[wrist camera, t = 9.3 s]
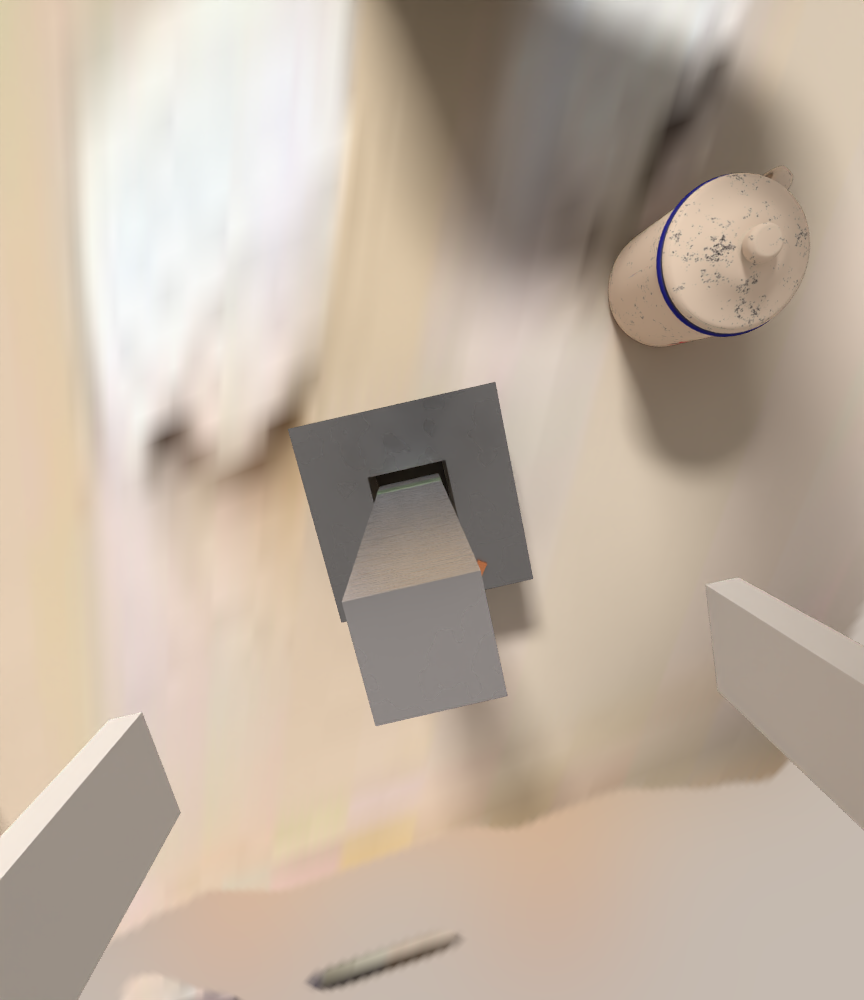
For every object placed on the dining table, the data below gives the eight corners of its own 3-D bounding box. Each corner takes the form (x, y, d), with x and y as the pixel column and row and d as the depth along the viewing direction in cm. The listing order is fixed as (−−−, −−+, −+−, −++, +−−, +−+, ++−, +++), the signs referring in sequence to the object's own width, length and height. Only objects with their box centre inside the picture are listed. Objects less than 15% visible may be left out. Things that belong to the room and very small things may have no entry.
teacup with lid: (665, 374, 40) (769, 363, 28) (578, 299, 38) (651, 256, 27) (770, 245, 38) (924, 178, 27) (683, 162, 37) (808, 55, 25)
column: (379, 486, 34) (340, 601, 14) (438, 472, 34) (481, 569, 14) (395, 552, 35) (380, 746, 15) (452, 539, 35) (512, 716, 15)
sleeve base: (305, 425, 39) (281, 430, 32) (482, 385, 39) (499, 380, 32) (350, 591, 42) (338, 632, 34) (515, 553, 42) (538, 586, 34)
